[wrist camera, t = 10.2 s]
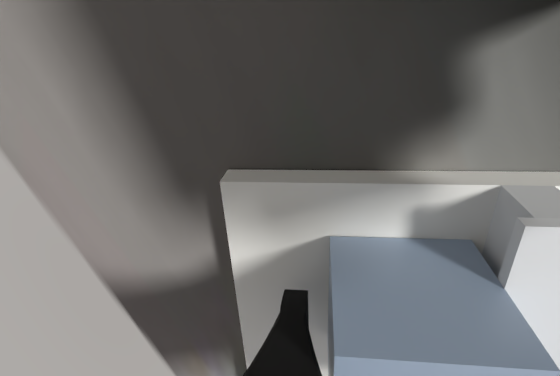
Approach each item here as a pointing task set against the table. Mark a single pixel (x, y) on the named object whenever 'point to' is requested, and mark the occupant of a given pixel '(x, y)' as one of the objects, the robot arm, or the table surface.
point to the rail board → (387, 236)
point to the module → (424, 312)
